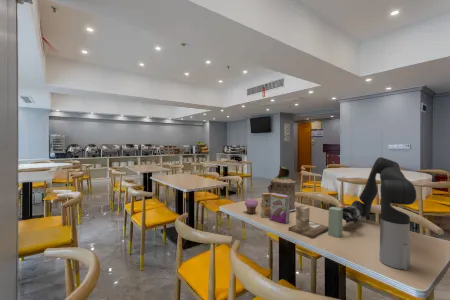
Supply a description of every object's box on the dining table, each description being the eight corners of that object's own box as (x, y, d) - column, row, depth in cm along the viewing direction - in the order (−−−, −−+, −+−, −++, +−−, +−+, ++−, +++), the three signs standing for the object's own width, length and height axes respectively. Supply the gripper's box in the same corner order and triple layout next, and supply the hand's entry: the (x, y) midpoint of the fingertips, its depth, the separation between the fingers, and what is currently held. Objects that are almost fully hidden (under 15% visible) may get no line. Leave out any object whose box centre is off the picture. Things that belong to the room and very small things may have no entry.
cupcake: (246, 215, 144) (247, 200, 144) (243, 211, 153) (243, 197, 153) (259, 214, 146) (259, 199, 146) (255, 210, 154) (255, 196, 154)
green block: (342, 235, 113) (342, 208, 113) (338, 237, 110) (338, 210, 110) (332, 232, 117) (333, 206, 117) (328, 234, 114) (328, 208, 114)
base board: (329, 229, 121) (330, 205, 120) (312, 238, 109) (313, 212, 108) (306, 222, 131) (307, 200, 131) (288, 230, 119) (289, 205, 119)
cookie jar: (306, 210, 158) (307, 166, 158) (279, 214, 147) (280, 167, 147) (283, 202, 180) (283, 163, 180) (258, 205, 169) (259, 164, 169)
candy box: (263, 217, 140) (263, 194, 140) (261, 215, 144) (261, 192, 144) (276, 217, 141) (276, 193, 141) (273, 215, 145) (274, 192, 145)
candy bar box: (269, 219, 136) (269, 194, 135) (273, 218, 139) (273, 192, 139) (285, 224, 128) (286, 197, 128) (289, 222, 132) (290, 195, 131)
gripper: (337, 204, 131) (325, 208, 121) (364, 209, 120) (352, 215, 110) (337, 216, 131) (324, 222, 121) (363, 223, 120) (352, 229, 110)
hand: (338, 218), depth 115 cm, fingers open, 8 cm apart
